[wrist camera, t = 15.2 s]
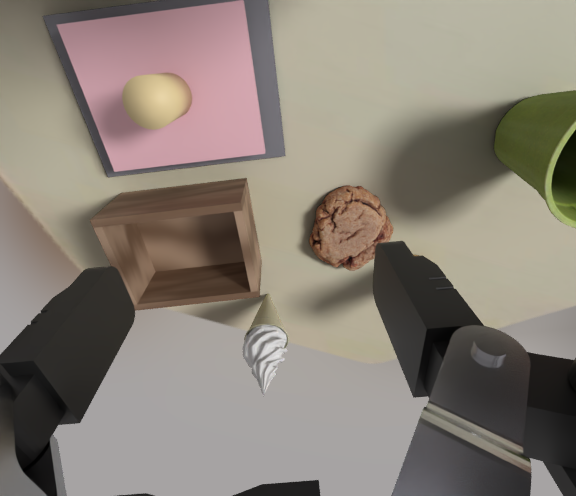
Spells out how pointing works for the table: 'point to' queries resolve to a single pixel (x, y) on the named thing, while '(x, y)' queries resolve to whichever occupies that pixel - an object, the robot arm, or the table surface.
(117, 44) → the lid
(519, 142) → the plant pot
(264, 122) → the mat
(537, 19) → the table surface
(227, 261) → the box
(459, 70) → the table surface
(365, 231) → the cookie
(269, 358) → the ice cream cone
